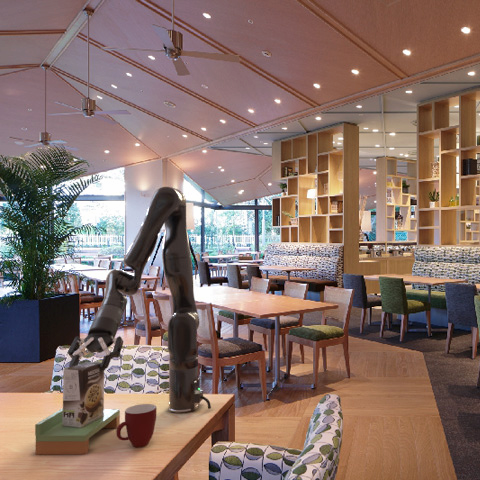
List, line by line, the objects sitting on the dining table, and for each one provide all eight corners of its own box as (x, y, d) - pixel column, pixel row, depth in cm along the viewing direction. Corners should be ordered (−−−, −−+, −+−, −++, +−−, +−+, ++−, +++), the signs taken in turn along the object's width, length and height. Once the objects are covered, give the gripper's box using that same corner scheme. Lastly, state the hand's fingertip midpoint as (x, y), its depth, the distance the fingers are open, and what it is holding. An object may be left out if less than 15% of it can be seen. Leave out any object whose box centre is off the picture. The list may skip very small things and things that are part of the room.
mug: (127, 456, 129) (127, 418, 129) (110, 449, 133) (110, 412, 133) (162, 442, 138) (162, 407, 138) (145, 436, 142) (145, 402, 142)
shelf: (119, 425, 150) (119, 399, 150) (84, 454, 130) (85, 424, 130) (76, 425, 150) (76, 399, 150) (35, 454, 130) (35, 424, 130)
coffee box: (81, 428, 135) (82, 370, 135) (61, 426, 136) (62, 368, 136) (104, 416, 144) (105, 361, 144) (85, 414, 145) (86, 360, 145)
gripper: (78, 315, 150) (56, 362, 138) (125, 315, 150) (107, 362, 139) (87, 329, 155) (67, 376, 143) (133, 329, 155) (116, 375, 144)
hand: (87, 369), depth 141 cm, fingers open, 8 cm apart
